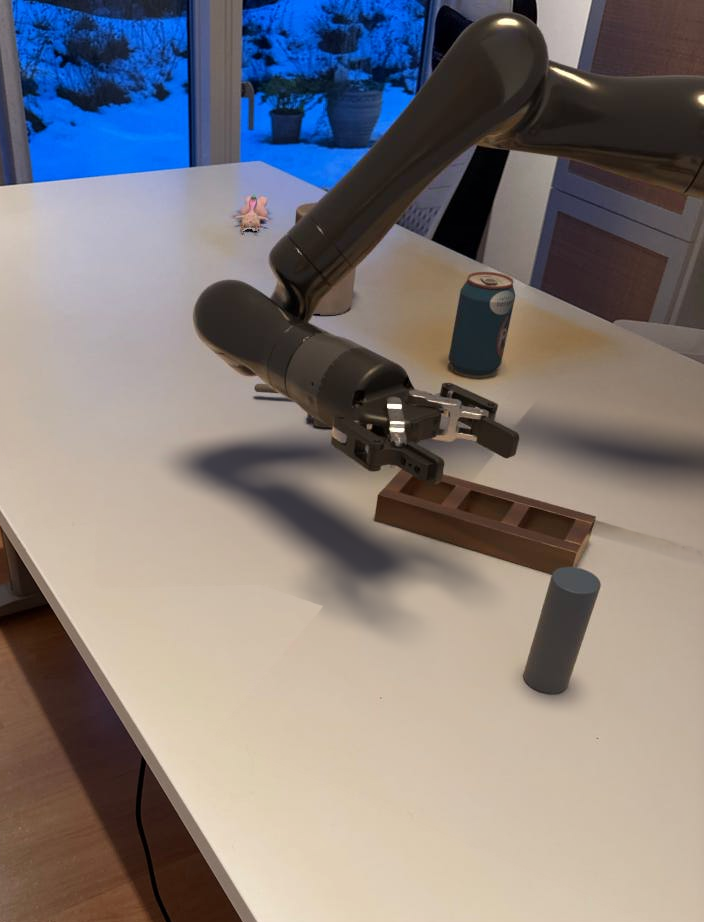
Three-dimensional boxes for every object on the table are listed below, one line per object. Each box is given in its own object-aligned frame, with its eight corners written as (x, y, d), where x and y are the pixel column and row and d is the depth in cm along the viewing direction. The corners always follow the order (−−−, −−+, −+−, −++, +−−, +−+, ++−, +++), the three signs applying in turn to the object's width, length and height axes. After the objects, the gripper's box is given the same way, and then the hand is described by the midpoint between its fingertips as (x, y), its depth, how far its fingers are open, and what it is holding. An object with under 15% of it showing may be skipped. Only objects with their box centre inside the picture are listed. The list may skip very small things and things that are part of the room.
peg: (572, 674, 79) (605, 575, 73) (561, 699, 77) (594, 599, 70) (530, 660, 80) (558, 561, 74) (517, 684, 78) (546, 584, 72)
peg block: (402, 488, 103) (406, 463, 101) (588, 542, 95) (596, 516, 93) (374, 520, 98) (377, 494, 96) (568, 579, 90) (577, 552, 88)
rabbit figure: (265, 243, 176) (273, 207, 186) (266, 210, 172) (275, 176, 182) (232, 240, 176) (241, 205, 186) (232, 208, 172) (242, 174, 182)
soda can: (505, 379, 126) (525, 288, 119) (454, 379, 126) (471, 287, 118) (490, 359, 132) (509, 270, 124) (441, 359, 131) (456, 270, 124)
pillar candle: (280, 297, 149) (286, 194, 140) (337, 292, 152) (347, 190, 142) (303, 318, 142) (311, 212, 133) (362, 313, 145) (374, 207, 135)
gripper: (287, 363, 81) (421, 438, 71) (410, 331, 87) (549, 396, 77) (281, 443, 85) (406, 525, 75) (398, 408, 92) (527, 478, 82)
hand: (478, 460), depth 76 cm, fingers open, 8 cm apart
